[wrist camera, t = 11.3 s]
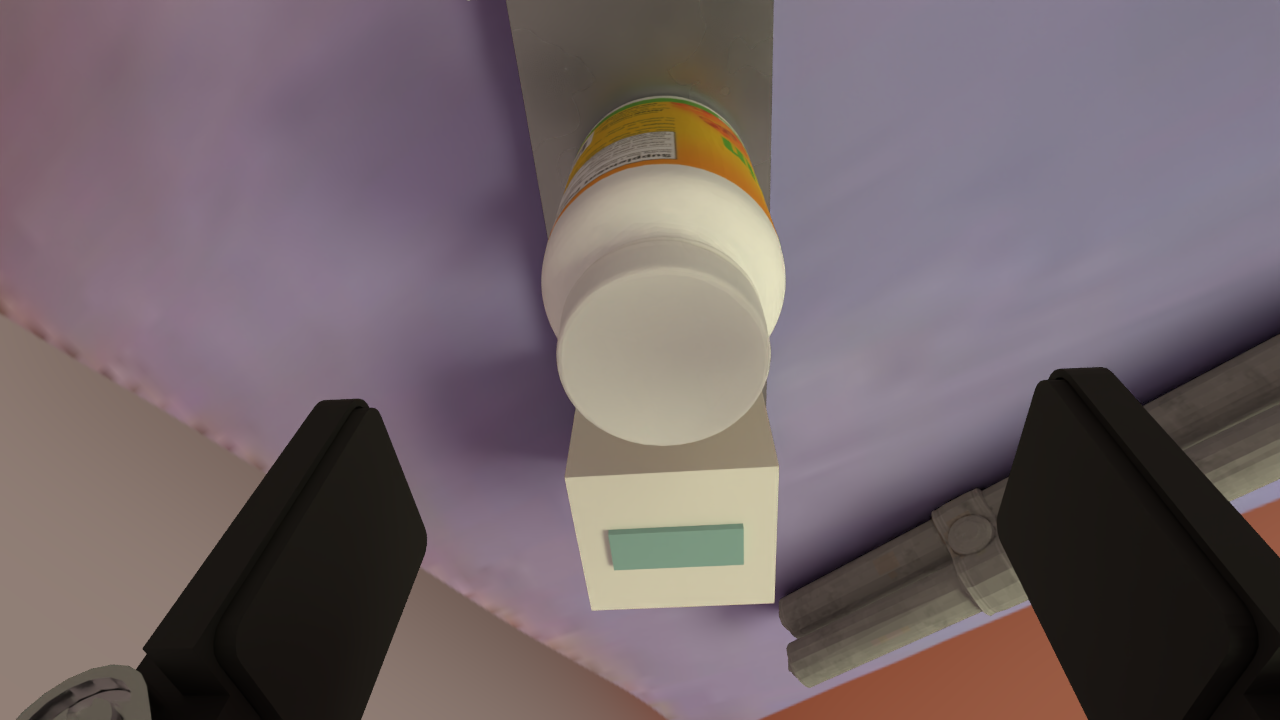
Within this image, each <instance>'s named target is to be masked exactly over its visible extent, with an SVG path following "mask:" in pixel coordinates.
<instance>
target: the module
mask: <svg viewBox="0 0 1280 720" xmlns="http://www.w3.org/2000/svg"><path fill="white" fill-rule="evenodd" d="M778 480H779V464H778V460H777V455H776V451H775V446H774V442H773V437H772V433H771V428H770V424H769V419H768V415H767V410H766V406H765V401H764V397H763V392H762V391H761V393H760V395H759V397H758V398H757V400H756V401H755V403H754V404H753V405H752V407H751V408H750V409H749V410H748V411H747V412H746V413H745V414H744V415H743V416H742V417H741V418H740V419H739V420H738V421H736V422H735V423H734V424H732V425H731V426H729V427H728V428H726V429H725V430H723V431H721V432H719V433H717V434H715V435H713V436H710V437H708V438H705V439H703V440H699V441H696V442H691V443H686V444H681V445H670V446H657V445H644V444H639V443H634V442H630V441H627V440H624V439H621V438H618V437H616V436H613V435H611V434H609V433H607V432H605V431H604V430H602V429H600V428H598V427H597V426H595V425H594V424H593V423H591V422H590V421H589V420H587V419H586V418H585V417H584V416H583V415H582V414H581V413H580V412H579V411H578V410H577V409H575V415H574V422H573V428H572V434H571V440H570V447H569V453H568V459H567V465H566V472H565V482H566V487H567V492H568V497H569V502H570V507H571V512H572V517H573V521H574V526H575V531H576V536H577V541H578V546H579V551H580V556H581V560H582V565H583V570H584V575H585V580H586V585H587V590H588V595H589V600H590V604H591V609H592V610H616V609H641V608H667V607H692V606H717V605H742V604H767V603H774V599H775V570H776V540H777V510H778Z"/></svg>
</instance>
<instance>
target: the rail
mask: <svg viewBox="0 0 1280 720" xmlns="http://www.w3.org/2000/svg"><path fill="white" fill-rule="evenodd" d="M506 4H507V10H508V15H509V21H510V27H511V32H512V38H513V44H514V49H515V55H516V61H517V66H518V72H519V78H520V83H521V89H522V95H523V100H524V106H525V112H526V117H527V123H528V129H529V134H530V140H531V146H532V151H533V157H534V163H535V168H536V174H537V180H538V185H539V191H540V197H541V202H542V208H543V214H544V219H545V225H546V231H547V236H548V239H549V236H550V233H551V231H552V227H553V225H554V222H555V219H556V215H557V212H558V209H559V205H560V202H561V199H562V197H563V194H564V191H565V188H566V185H567V182H568V179H569V176H570V173H571V170H572V166H573V163H574V160H575V158H576V156H577V153H578V151H579V149H580V147H581V145H582V144H583V142H584V140H585V138H586V137H587V135H588V134H589V133H590V131H591V130H592V129H593V128H594V126H595V125H596V124H597V123H598V122H599V121H600V120H601V119H602V118H604V117H605V116H606V115H607V114H608V113H610V112H611V111H613V110H614V109H616V108H618V107H620V106H622V105H624V104H626V103H628V102H631V101H634V100H637V99H641V98H645V97H652V96H677V97H682V98H686V99H690V100H693V101H696V102H698V103H701V104H703V105H705V106H707V107H709V108H710V109H712V110H713V111H715V112H716V113H718V114H719V115H720V116H721V117H723V118H724V119H725V120H726V121H727V122H728V123H729V124H730V125H731V127H732V128H733V129H734V130H735V132H736V133H737V134H738V136H739V138H740V139H741V141H742V143H743V145H744V147H745V149H746V151H747V153H748V156H749V158H750V161H751V164H752V167H753V169H754V172H755V175H756V178H757V181H758V183H759V186H760V188H761V190H762V193H763V196H764V199H765V202H766V205H767V208H768V211H769V213H770V170H771V115H772V60H773V5H774V0H506ZM766 389H767V379H766V382H765V385H764V387H763V389H762V392H763V397H764V401H765V406H766Z"/></svg>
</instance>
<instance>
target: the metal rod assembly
mask: <svg viewBox="0 0 1280 720" xmlns="http://www.w3.org/2000/svg"><path fill="white" fill-rule="evenodd" d="M1143 407H1144V408H1145V409H1146V410H1147V411H1148V413H1149V414H1150V415H1151V416H1152V417H1153V418H1154V419H1155V420H1156V421H1157V422H1158V424H1159V425H1160V426H1161V427H1162V428H1163V429H1164V430H1165V431H1166V432H1167V434H1168V435H1169V436H1170V437H1171V438H1172V439H1173V440H1174V441H1175V442H1176V444H1177V445H1178V446H1179V447H1180V448H1181V449H1182V450H1183V451H1184V452H1185V453H1186V455H1187V456H1188V457H1189V458H1190V459H1191V460H1192V461H1193V462H1194V463H1195V465H1196V466H1197V467H1198V468H1199V469H1200V470H1201V471H1202V472H1203V473H1204V475H1205V476H1206V477H1207V478H1208V479H1209V480H1210V481H1211V482H1212V483H1213V484H1214V486H1215V487H1216V488H1217V489H1218V490H1219V491H1220V492H1221V493H1222V494H1223V496H1224V497H1225V498H1226V499H1227V500H1228V501H1229V502H1230V501H1232V500H1234V499H1236V498H1238V497H1241V496H1243V495H1245V494H1247V493H1250V492H1252V491H1254V490H1256V489H1258V488H1261V487H1263V486H1265V485H1267V484H1269V483H1272V482H1274V481H1276V480H1278V479H1280V334H1278V335H1277V336H1275V337H1273V338H1271V339H1269V340H1267V341H1265V342H1263V343H1261V344H1260V345H1258V346H1256V347H1254V348H1252V349H1250V350H1248V351H1246V352H1244V353H1242V354H1241V355H1239V356H1237V357H1235V358H1233V359H1231V360H1229V361H1227V362H1225V363H1223V364H1222V365H1220V366H1218V367H1216V368H1214V369H1212V370H1210V371H1208V372H1206V373H1205V374H1203V375H1201V376H1199V377H1197V378H1195V379H1193V380H1191V381H1189V382H1187V383H1186V384H1184V385H1182V386H1180V387H1178V388H1176V389H1174V390H1172V391H1170V392H1168V393H1167V394H1165V395H1163V396H1161V397H1159V398H1157V399H1155V400H1153V401H1151V402H1150V403H1148V404H1146V405H1144V406H1143ZM1008 478H1009V477H1007V478H1005V479H1003V480H1002V481H1000V482H998V483H996V484H994V485H992V486H990V487H988V488H986V489H984V490H983V491H982V490H980V489H979V488H976V489H974V490H972V491H969V492H967V493H965V494H963V495H961V496H959V497H957V498H956V499H954V500H952V501H950V502H948V503H946V504H944V505H943V506H941V507H940V508H938V509H937V510H934V511H932V519H931V520H929V521H927V522H925V523H923V524H921V525H920V526H918V527H916V528H914V529H912V530H910V531H908V532H906V533H904V534H903V535H901V536H899V537H897V538H895V539H893V540H891V541H889V542H887V543H885V544H884V545H882V546H880V547H878V548H876V549H874V550H872V551H870V552H868V553H867V554H865V555H863V556H861V557H859V558H857V559H855V560H853V561H851V562H850V563H848V564H846V565H844V566H842V567H840V568H838V569H836V570H834V571H832V572H831V573H829V574H827V575H825V576H823V577H821V578H819V579H817V580H815V581H814V582H812V583H810V584H808V585H806V586H804V587H802V588H800V589H798V590H797V591H795V592H793V593H791V594H789V595H787V596H785V597H783V598H781V599H780V601H779V610H780V611H779V618H780V620H781V623H782V625H783V626H784V627H785V628H786V629H787V630H789V631H790V632H791V634H792V635H793V636H794V637H796V638H797V640H795V641H793V642H791V643H789V644H788V646H787V648H786V649H787V655H788V670H789V671H790V672H792V674H793V675H794V676H795V677H796V678H798V680H799V681H800V682H801V683H802V684H803V685H805V686H806V687H809V688H811V687H813V686H815V685H817V684H819V683H821V682H824V681H826V680H828V679H831V678H833V677H835V676H837V675H840V674H842V673H844V672H846V671H849V670H851V669H853V668H855V667H858V666H860V665H862V664H864V663H867V662H869V661H871V660H873V659H876V658H878V657H880V656H882V655H885V654H887V653H889V652H891V651H894V650H896V649H898V648H901V647H903V646H905V645H907V644H910V643H912V642H914V641H916V640H919V639H921V638H923V637H925V636H928V635H930V634H932V633H934V632H937V631H939V630H941V629H943V628H946V627H948V626H950V625H952V624H955V623H957V622H959V621H961V620H964V619H966V618H968V617H970V616H973V615H975V614H977V613H980V612H982V611H983V612H984V613H986V614H987V615H990V616H992V615H993V614H994V613H996V612H999V611H1003V610H1006V609H1009V608H1011V607H1013V606H1015V605H1018V604H1020V603H1022V602H1025V601H1027V600H1029V599H1028V597H1027V595H1026V593H1025V591H1024V589H1023V587H1022V585H1021V583H1020V581H1019V579H1018V577H1017V575H1016V573H1015V571H1014V569H1013V567H1012V565H1011V563H1010V561H1009V559H1008V557H1007V554H1006V552H1005V550H1004V548H1003V546H1002V544H1001V542H1000V540H999V536H998V532H997V515H998V511H999V508H1000V505H1001V501H1002V498H1003V495H1004V491H1005V488H1006V485H1007V481H1008Z"/></svg>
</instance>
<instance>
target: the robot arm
mask: <svg viewBox="0 0 1280 720" xmlns="http://www.w3.org/2000/svg"><path fill="white" fill-rule="evenodd" d="M997 532H998V536H999V540H1000V542H1001V544H1002V546H1003V548H1004V550H1005V552H1006V554H1007V557H1008V559H1009V561H1010V563H1011V565H1012V567H1013V569H1014V571H1015V573H1016V575H1017V577H1018V579H1019V581H1020V583H1021V585H1022V587H1023V589H1024V591H1025V593H1026V595H1027V597H1028V599H1029V601H1030V603H1031V605H1032V607H1033V609H1034V611H1035V613H1036V615H1037V617H1038V619H1039V621H1040V623H1041V625H1042V627H1043V629H1044V631H1045V633H1046V635H1047V637H1048V639H1049V641H1050V643H1051V645H1052V647H1053V650H1054V651H1055V654H1056V656H1057V658H1058V660H1059V662H1060V664H1061V666H1062V668H1063V670H1064V672H1065V674H1066V676H1067V678H1068V680H1069V682H1070V684H1071V686H1072V688H1073V690H1074V692H1075V694H1076V696H1077V698H1078V700H1079V702H1080V704H1081V706H1082V708H1083V710H1084V712H1085V714H1086V716H1087V718H1088V720H1280V558H1279V556H1277V554H1276V553H1275V552H1274V551H1273V550H1272V549H1271V548H1270V547H1269V545H1267V543H1266V542H1265V541H1264V540H1263V539H1262V538H1261V537H1260V535H1259V534H1258V533H1257V532H1256V531H1255V530H1254V529H1253V528H1252V527H1251V525H1250V524H1249V523H1248V522H1247V521H1246V520H1245V519H1244V518H1243V517H1242V515H1241V514H1240V513H1239V512H1238V511H1237V510H1236V509H1235V508H1234V507H1233V506H1232V504H1231V503H1230V502H1229V501H1228V500H1227V499H1226V498H1225V497H1224V496H1223V494H1222V493H1221V492H1220V491H1219V490H1218V489H1217V488H1216V487H1215V486H1214V484H1213V483H1212V482H1211V481H1210V480H1209V479H1208V478H1207V477H1206V476H1205V475H1204V473H1203V472H1202V471H1201V470H1200V469H1199V468H1198V467H1197V466H1196V465H1195V463H1194V462H1193V461H1192V460H1191V459H1190V458H1189V457H1188V456H1187V455H1186V453H1185V452H1184V451H1183V450H1182V449H1181V448H1180V447H1179V446H1178V445H1177V444H1176V442H1175V441H1174V440H1173V439H1172V438H1171V437H1170V436H1169V435H1168V434H1167V432H1166V431H1165V430H1164V429H1163V428H1162V427H1161V426H1160V425H1159V424H1158V422H1157V421H1156V420H1155V419H1154V418H1153V417H1152V416H1151V415H1150V414H1149V413H1148V411H1147V410H1146V409H1145V408H1144V407H1143V406H1142V405H1141V404H1140V403H1139V401H1138V400H1137V399H1136V398H1135V397H1134V396H1133V395H1132V394H1131V393H1130V391H1129V390H1128V389H1127V388H1126V387H1125V386H1124V385H1123V384H1122V383H1121V382H1120V380H1119V379H1118V378H1117V377H1116V376H1115V375H1114V374H1113V373H1112V372H1111V371H1110V370H1108V369H1107V368H1103V367H1092V368H1068V369H1058V370H1055V371H1054V372H1053V373H1052V374H1051V375H1050V377H1049V379H1048V380H1043V381H1040V382H1039V383H1038V384H1037V386H1036V389H1035V392H1034V395H1033V398H1032V402H1031V405H1030V408H1029V411H1028V415H1027V418H1026V421H1025V425H1024V428H1023V431H1022V435H1021V438H1020V441H1019V445H1018V448H1017V451H1016V455H1015V458H1014V461H1013V465H1012V468H1011V471H1010V475H1009V478H1008V481H1007V485H1006V488H1005V491H1004V495H1003V498H1002V501H1001V505H1000V508H999V511H998V515H997ZM426 546H427V534H426V530H425V527H424V524H423V522H422V519H421V517H420V514H419V511H418V509H417V506H416V504H415V501H414V499H413V496H412V494H411V491H410V488H409V486H408V483H407V481H406V478H405V476H404V473H403V471H402V468H401V466H400V463H399V460H398V458H397V455H396V453H395V450H394V448H393V445H392V443H391V440H390V438H389V435H388V432H387V430H386V427H385V425H384V422H383V420H382V417H381V415H380V413H379V411H378V410H377V409H375V408H369V406H368V404H367V403H366V402H365V401H364V400H362V399H340V400H323V401H321V402H319V403H318V404H317V405H316V406H315V407H314V408H313V410H312V411H311V413H310V414H309V415H308V417H307V418H306V420H305V421H304V422H303V424H302V425H301V427H300V428H299V429H298V431H297V432H296V434H295V435H294V436H293V438H292V439H291V441H290V442H289V443H288V445H287V446H286V448H285V449H284V450H283V452H282V453H281V455H280V456H279V457H278V459H277V460H276V462H275V463H274V465H273V466H272V467H271V469H270V470H269V472H268V473H267V474H266V476H265V477H264V479H263V480H262V482H261V483H260V484H259V486H258V487H257V489H256V490H255V491H254V493H253V494H252V495H251V497H250V498H249V500H248V501H247V503H246V504H245V505H244V507H243V508H242V510H241V511H240V512H239V514H238V515H237V517H236V518H235V519H234V521H233V522H232V524H231V525H230V526H229V528H228V530H227V531H226V532H225V533H224V535H223V536H222V538H221V539H220V540H219V542H218V543H217V545H216V546H215V548H214V549H213V550H212V552H211V553H210V555H209V556H208V557H207V559H206V560H205V561H204V563H203V564H202V566H201V567H200V569H199V570H198V571H197V573H196V574H195V576H194V577H193V579H192V580H191V581H190V583H189V584H188V585H187V587H186V588H185V590H184V591H183V592H182V594H181V595H180V597H179V598H178V600H177V601H176V602H175V604H174V605H173V606H172V608H171V609H170V611H169V612H168V613H167V615H166V616H165V618H164V619H163V621H162V622H161V623H160V625H159V626H158V628H157V629H156V630H155V632H154V633H153V635H152V636H151V637H150V639H149V640H148V642H147V643H146V644H145V646H144V647H143V650H144V651H145V652H146V653H147V655H146V656H145V658H144V659H143V660H142V662H141V663H140V665H139V666H138V667H137V669H136V670H135V669H133V668H132V667H130V666H123V665H108V666H103V667H98V668H93V669H90V670H88V671H85V672H83V673H81V674H78V675H76V676H73V677H71V678H69V679H67V680H65V681H64V682H62V683H61V684H59V685H57V686H56V687H54V688H52V689H51V690H50V691H48V692H46V693H44V694H43V695H42V696H41V697H40V698H39V699H38V700H36V701H35V702H34V703H33V704H31V705H30V706H29V707H28V708H27V709H25V710H24V711H23V712H22V713H21V714H20V715H19V717H18V718H17V719H16V720H361V718H362V716H363V713H364V710H365V708H366V705H367V703H368V700H369V697H370V695H371V692H372V690H373V687H374V684H375V682H376V679H377V677H378V674H379V671H380V669H381V666H382V664H383V661H384V658H385V656H386V653H387V651H388V648H389V646H390V643H391V640H392V638H393V635H394V633H395V630H396V627H397V625H398V622H399V620H400V617H401V615H402V612H403V609H404V607H405V604H406V602H407V599H408V596H409V594H410V591H411V589H412V586H413V583H414V581H415V578H416V576H417V573H418V571H419V568H420V565H421V563H422V560H423V558H424V555H425V552H426Z"/></svg>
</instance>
